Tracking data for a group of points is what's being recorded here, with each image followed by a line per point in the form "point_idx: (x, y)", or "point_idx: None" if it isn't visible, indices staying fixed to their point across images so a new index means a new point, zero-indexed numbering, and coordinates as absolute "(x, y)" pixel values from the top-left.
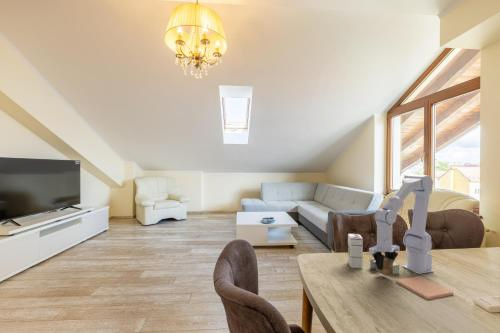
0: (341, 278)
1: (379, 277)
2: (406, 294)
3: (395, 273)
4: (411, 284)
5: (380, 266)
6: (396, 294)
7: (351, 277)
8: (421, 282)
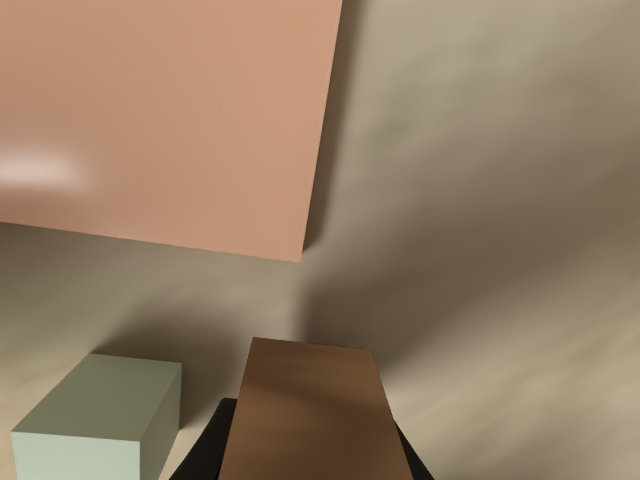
0: (632, 448)
1: None
2: (452, 49)
3: (133, 362)
4: (238, 121)
5: (413, 457)
6: (539, 98)
7: (555, 437)
8: (58, 98)
